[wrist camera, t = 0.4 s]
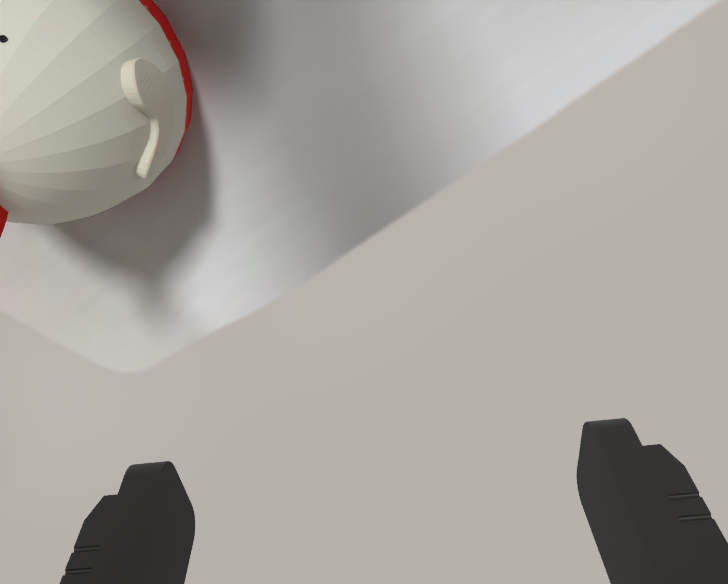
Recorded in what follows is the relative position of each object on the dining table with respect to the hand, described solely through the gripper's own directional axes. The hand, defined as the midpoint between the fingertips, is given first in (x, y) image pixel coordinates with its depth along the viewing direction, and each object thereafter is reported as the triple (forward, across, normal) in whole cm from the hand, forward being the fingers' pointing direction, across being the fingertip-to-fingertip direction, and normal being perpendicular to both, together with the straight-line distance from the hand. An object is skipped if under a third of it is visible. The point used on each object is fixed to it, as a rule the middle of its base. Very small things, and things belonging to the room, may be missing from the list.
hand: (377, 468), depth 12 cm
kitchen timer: (+29, +16, -1) cm, 33 cm away
